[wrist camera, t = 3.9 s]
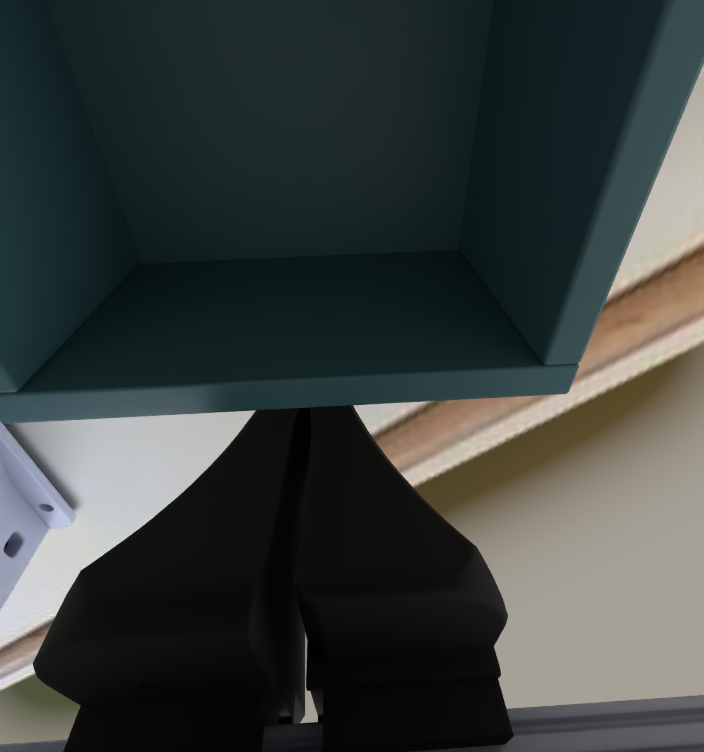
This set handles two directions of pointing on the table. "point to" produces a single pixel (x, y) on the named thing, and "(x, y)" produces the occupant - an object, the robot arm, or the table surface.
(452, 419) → the table surface
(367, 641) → the robot arm
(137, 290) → the drawer
